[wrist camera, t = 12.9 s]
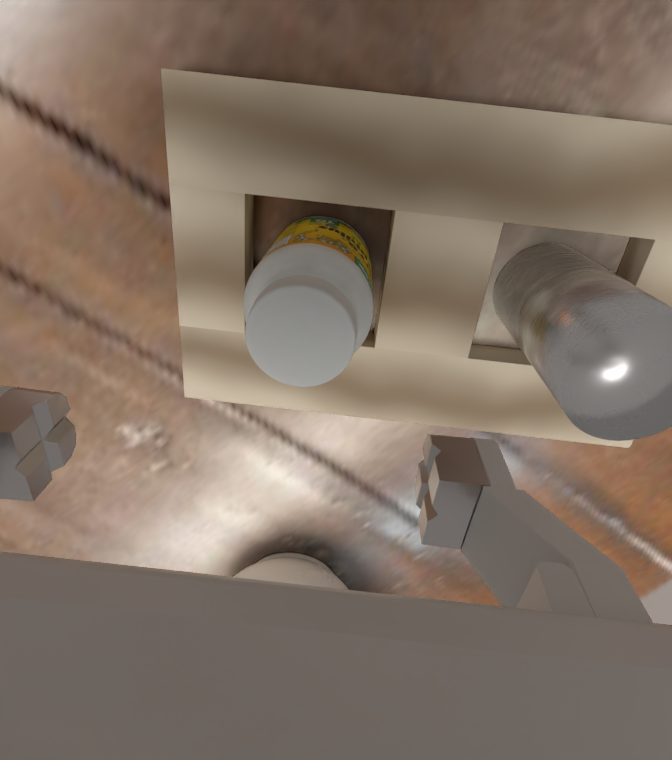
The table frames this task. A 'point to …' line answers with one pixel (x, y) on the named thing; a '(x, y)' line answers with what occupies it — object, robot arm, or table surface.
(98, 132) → the table surface
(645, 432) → the steel pin
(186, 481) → the table surface
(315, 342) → the supplement bottle
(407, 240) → the pin board
